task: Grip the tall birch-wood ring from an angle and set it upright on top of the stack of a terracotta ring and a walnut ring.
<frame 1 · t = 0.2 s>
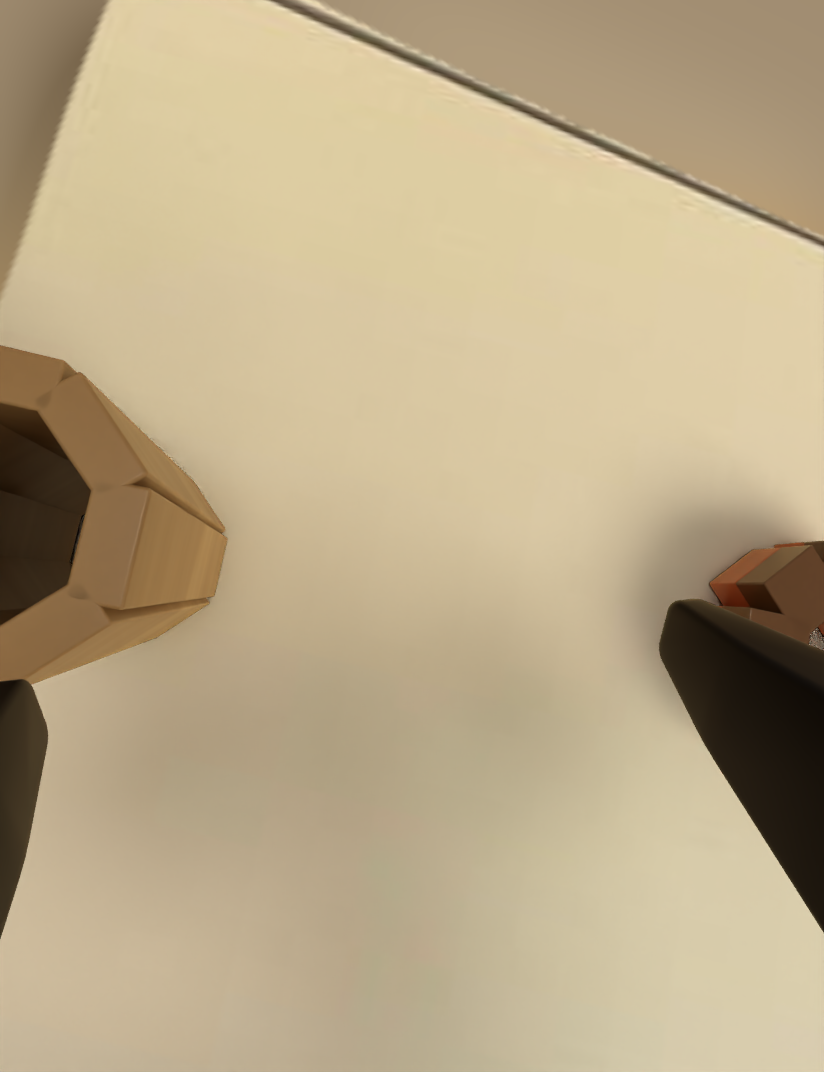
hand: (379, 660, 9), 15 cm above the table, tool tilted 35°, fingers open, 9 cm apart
ring stack: (787, 654, 27), on the table
tall ring: (135, 550, 22), on the table
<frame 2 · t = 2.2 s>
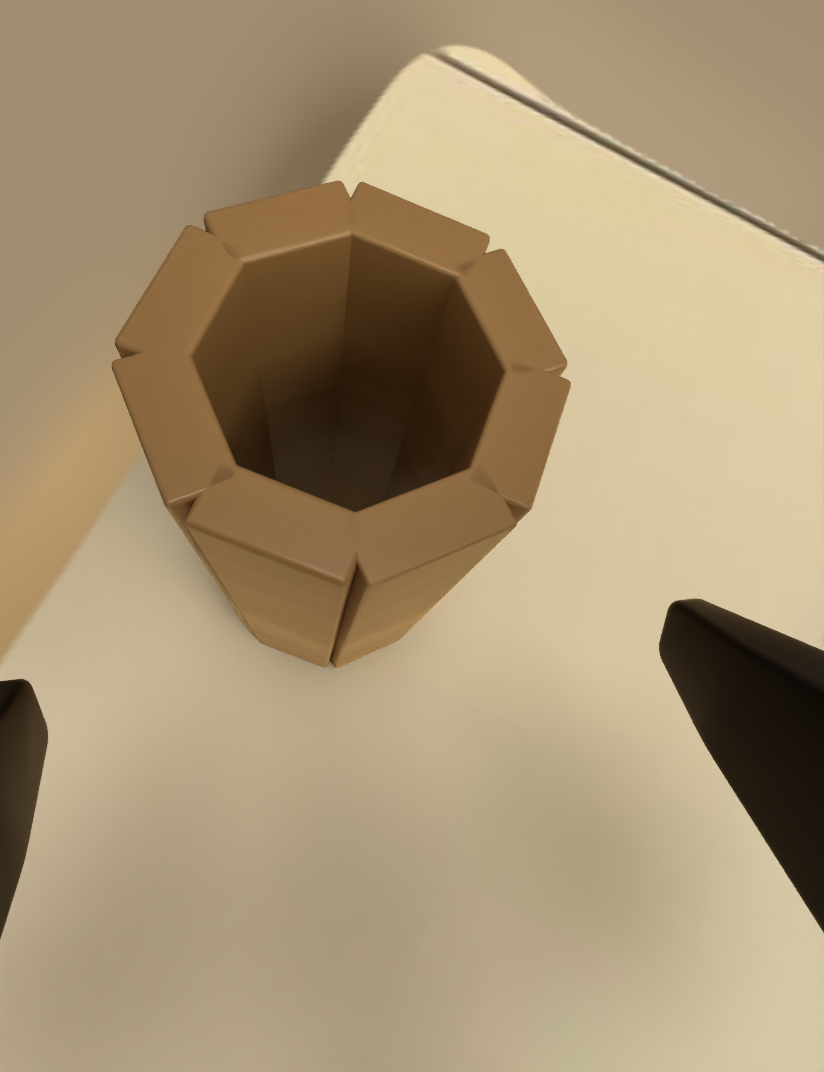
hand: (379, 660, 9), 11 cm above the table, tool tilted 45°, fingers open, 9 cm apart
tall ring: (330, 566, 20), on the table
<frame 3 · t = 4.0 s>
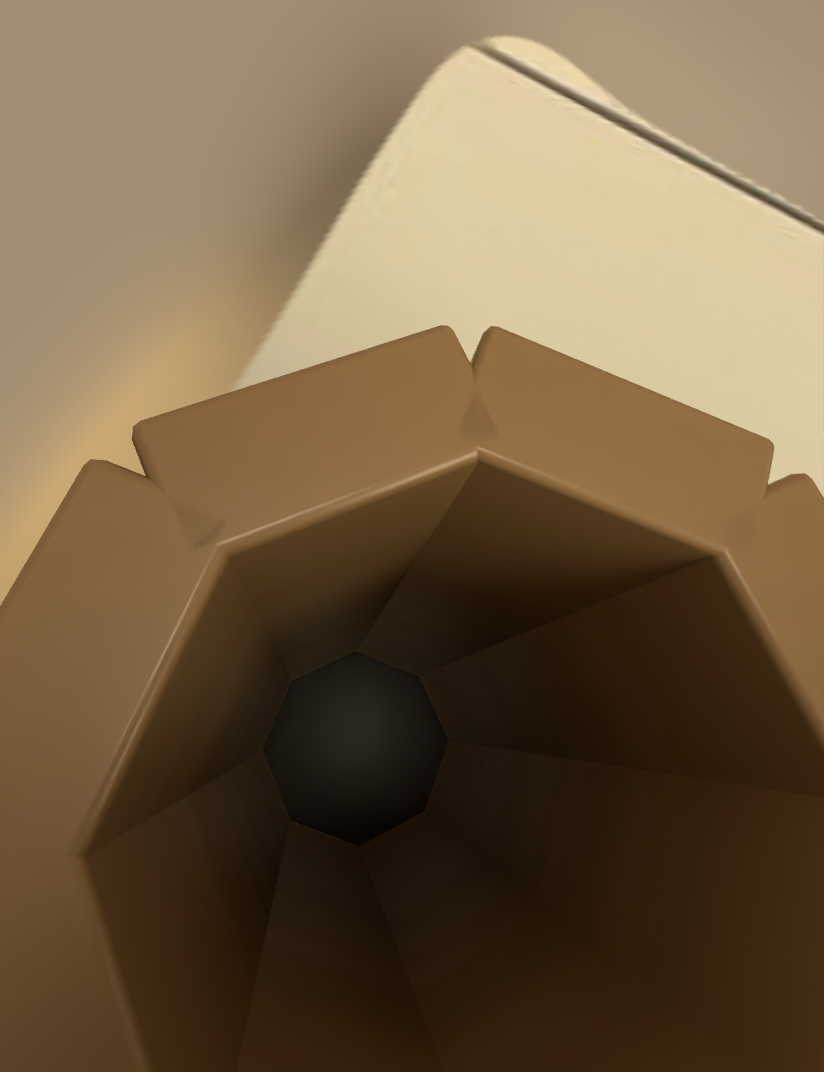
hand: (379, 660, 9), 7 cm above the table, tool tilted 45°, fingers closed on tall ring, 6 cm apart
tall ring: (357, 744, 15), on the table, touching gripper
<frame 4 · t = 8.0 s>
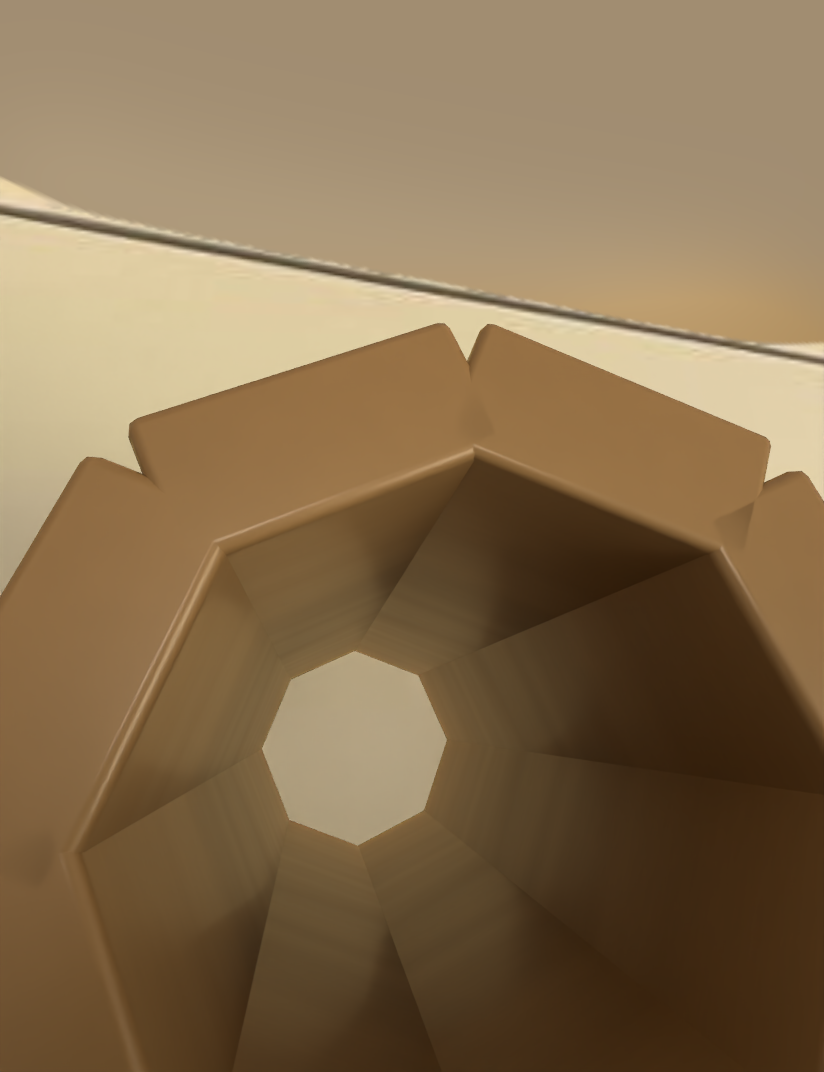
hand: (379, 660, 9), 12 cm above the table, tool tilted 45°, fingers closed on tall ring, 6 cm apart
tall ring: (356, 744, 15), point 6 cm above the table, touching gripper
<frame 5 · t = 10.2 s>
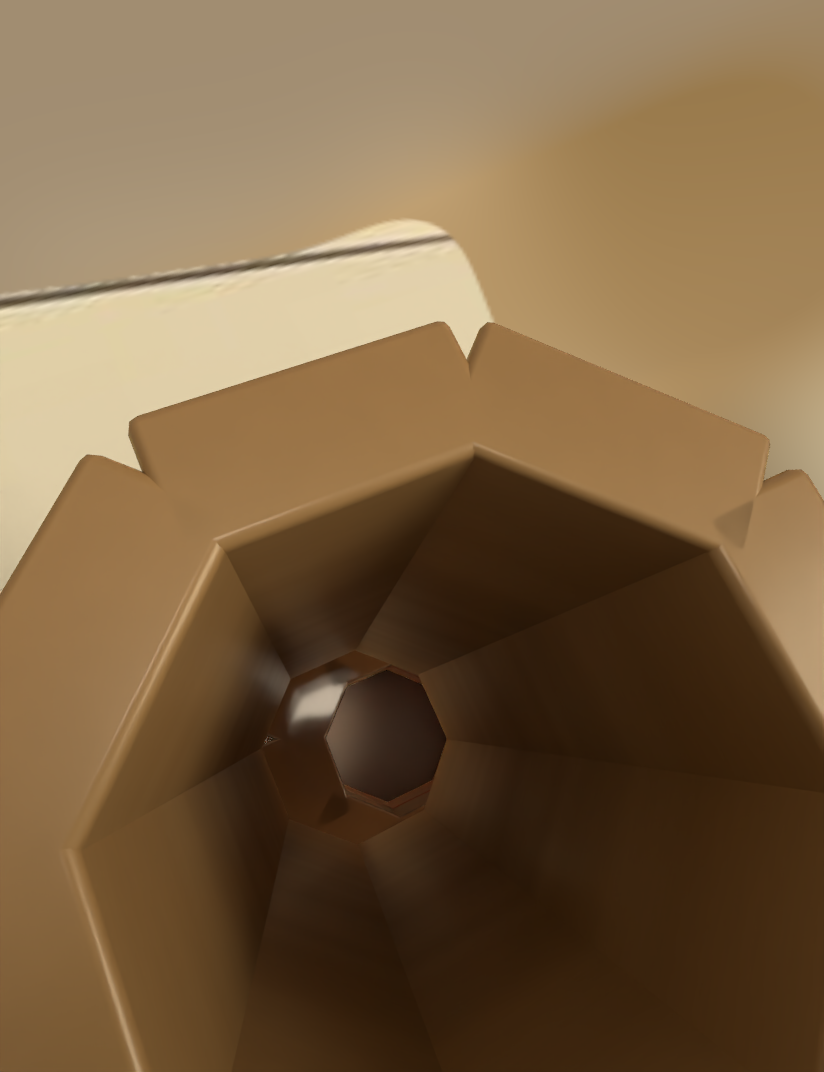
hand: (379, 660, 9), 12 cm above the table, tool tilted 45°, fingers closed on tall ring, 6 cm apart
ring stack: (386, 733, 21), on the table
tall ring: (356, 743, 15), point 6 cm above the table, touching gripper
when the fingers open (10 cm above the table, at t = 12.1 s): tall ring stays where it is, resting on ring stack.
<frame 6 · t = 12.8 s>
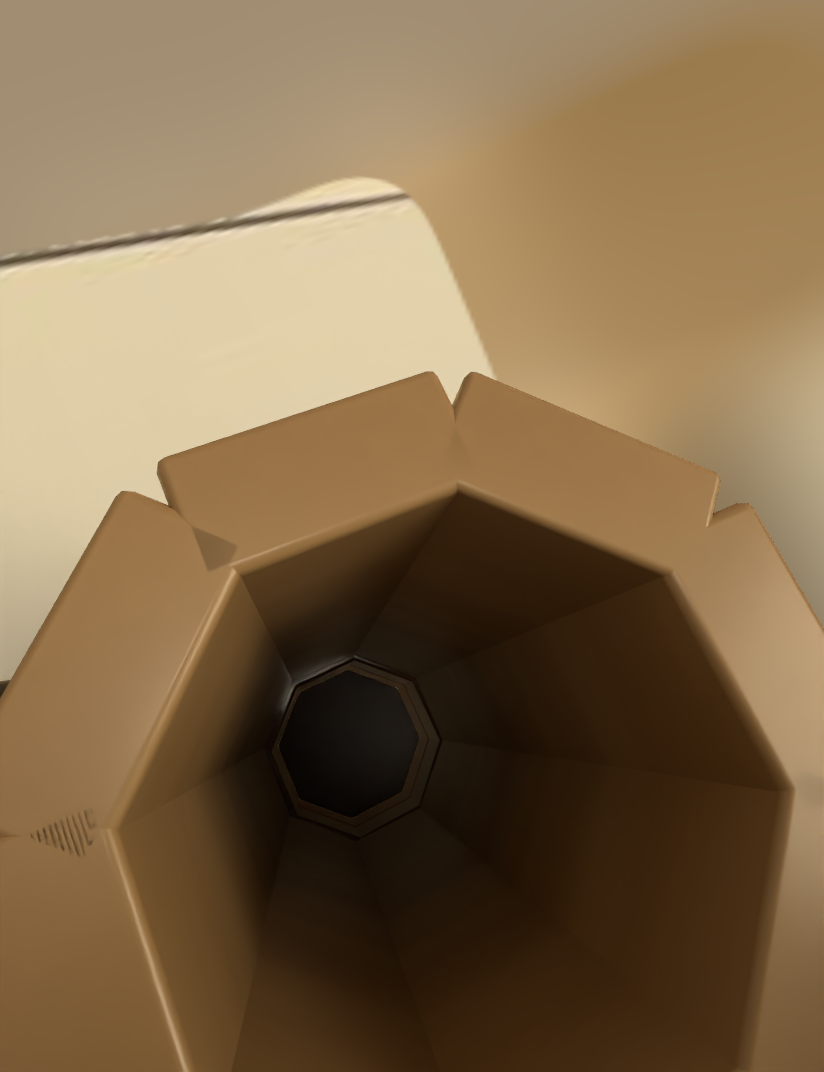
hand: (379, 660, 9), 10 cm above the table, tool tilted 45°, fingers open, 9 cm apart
ring stack: (350, 741, 18), on the table
tall ring: (355, 743, 15), point 3 cm above the table, touching ring stack
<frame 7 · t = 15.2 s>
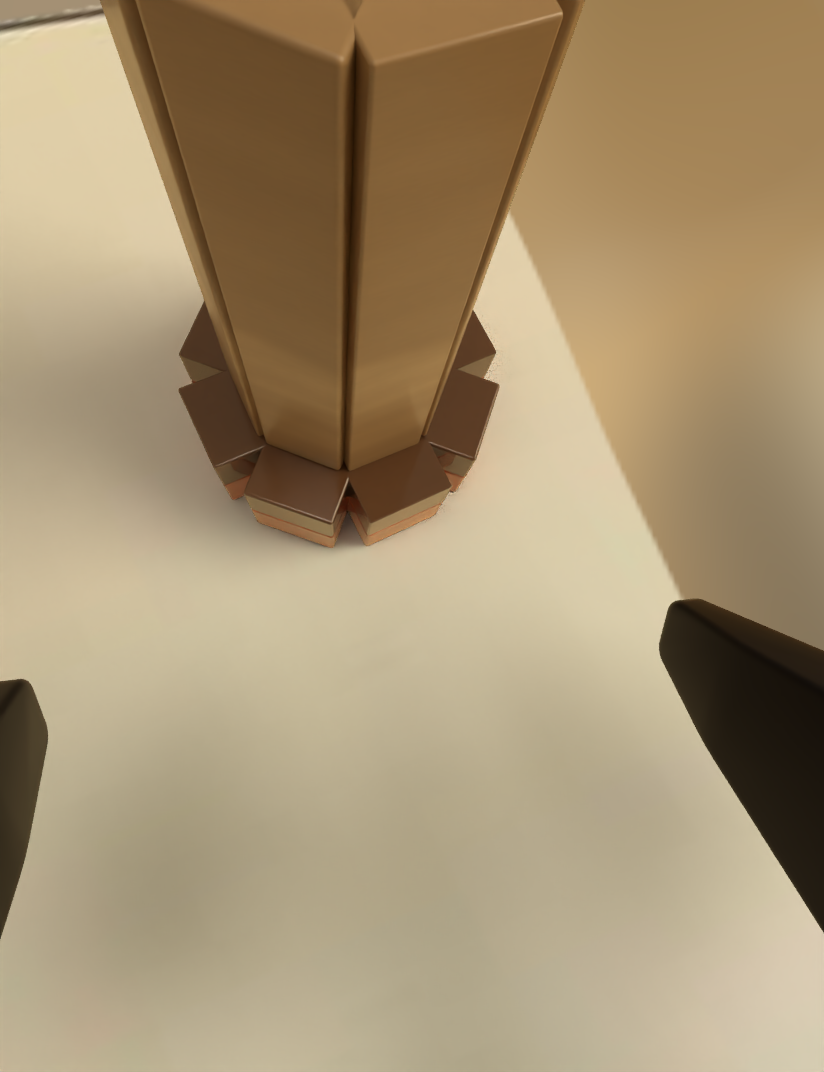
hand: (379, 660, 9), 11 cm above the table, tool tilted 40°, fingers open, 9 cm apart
ring stack: (342, 414, 21), on the table
tall ring: (341, 367, 18), point 3 cm above the table, touching ring stack
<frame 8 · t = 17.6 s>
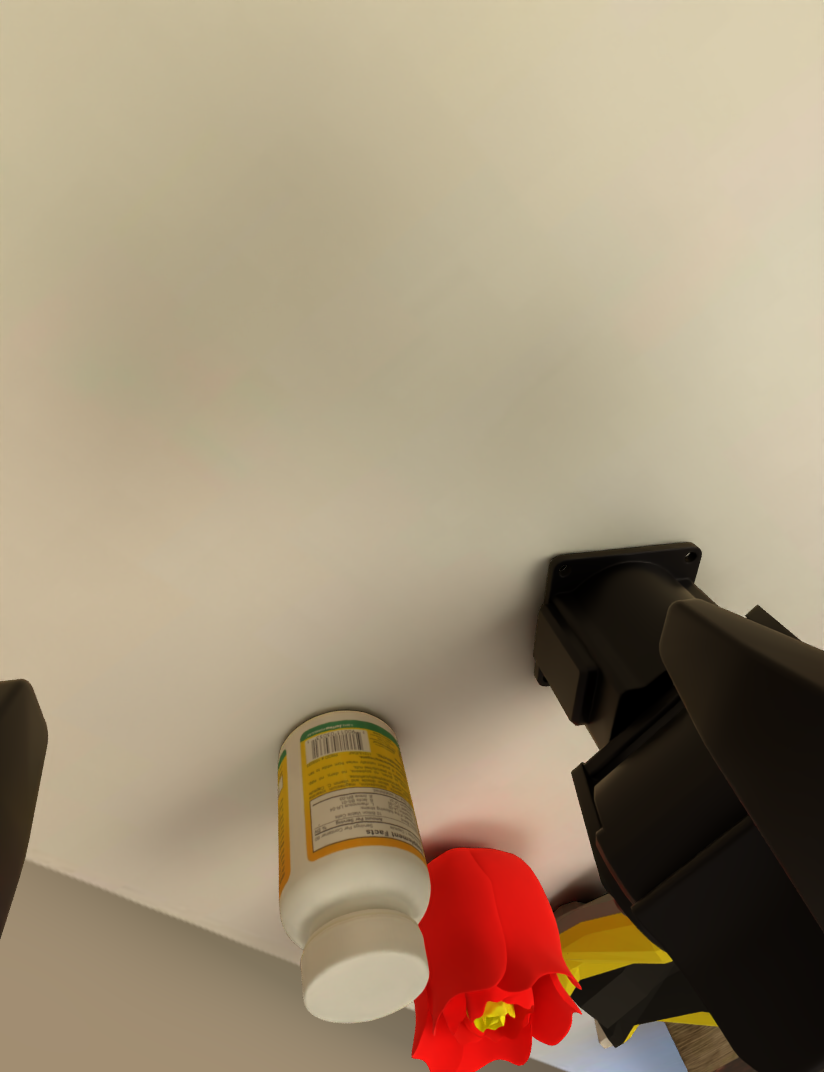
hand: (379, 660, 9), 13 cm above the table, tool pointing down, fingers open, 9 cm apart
flower: (457, 863, 34), on the table
gaming controller: (616, 918, 40), on the table
supplement bottle: (337, 748, 28), on the table
book: (802, 1000, 53), on the table
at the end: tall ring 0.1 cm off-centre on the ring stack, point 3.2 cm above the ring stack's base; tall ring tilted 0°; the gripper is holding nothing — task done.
